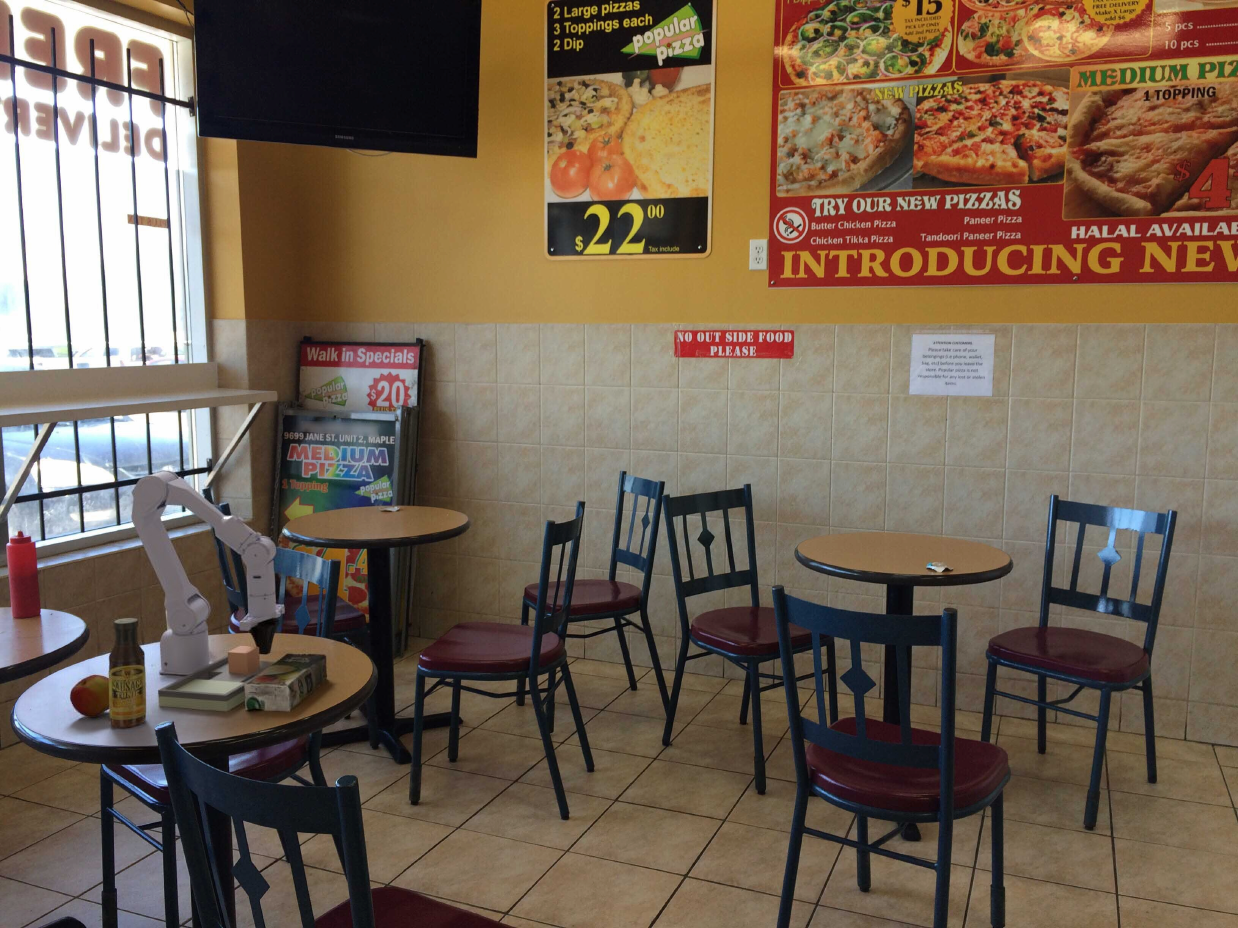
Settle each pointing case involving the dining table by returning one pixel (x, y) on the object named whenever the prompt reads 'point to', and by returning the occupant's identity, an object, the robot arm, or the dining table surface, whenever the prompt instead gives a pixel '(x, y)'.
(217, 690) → the trap tray
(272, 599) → the robot arm
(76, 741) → the dining table surface
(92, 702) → the apple
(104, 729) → the dining table surface
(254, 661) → the block
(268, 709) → the juice carton
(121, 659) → the sauce bottle
